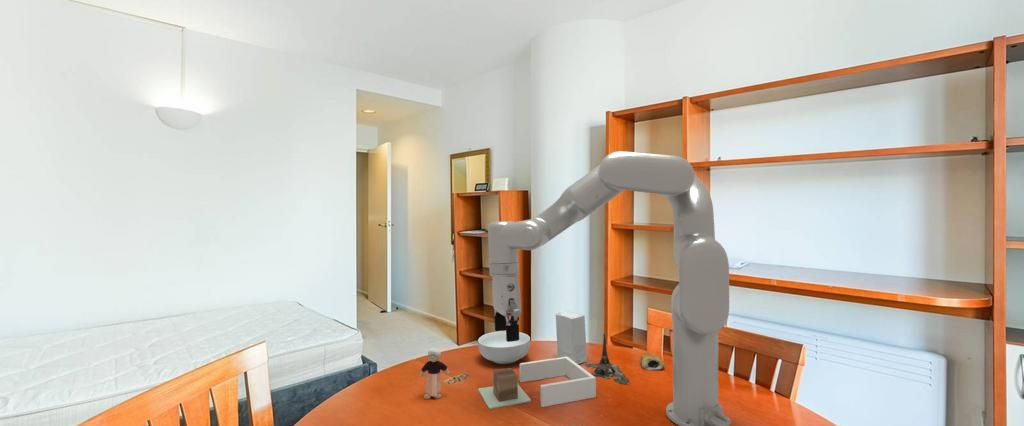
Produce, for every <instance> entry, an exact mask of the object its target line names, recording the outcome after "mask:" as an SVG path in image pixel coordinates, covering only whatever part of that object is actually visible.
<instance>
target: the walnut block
mask: <svg viewBox="0 0 1024 426" xmlns="http://www.w3.org/2000/svg"><path fill="white" fill-rule="evenodd" d="M492 384H493V385H492V386H493V394H494V395H495V397H496V398H497V400H498V401H499V402H502V401H507V400H513V399H518V385H519V382H518V373H516V372H515V371H514V369H513V368H512V367H507V368H501V369H500V368H499V369H494V370H492Z"/></svg>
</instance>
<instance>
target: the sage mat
mask: <svg viewBox="0 0 1024 426" xmlns="http://www.w3.org/2000/svg"><path fill="white" fill-rule="evenodd" d="M477 391H478V392H479V394H480V396H481V398H482V400H484V403H485V404H486V407H488V409H489V410H493V409H499V408H504V407H509V406H515V405H521V404H525V403H526V404H527V403H531V402H532V399H531V398H530V397H529V395H528V394H527V393H526V392H525V391H524V390H523V389H522V387H521V386H520V385H519V384H518V399H513V400H507V401H502V402H499V401H498V400H497V398H496V397H495V395H494V394H493V385H492V386H487V387H480V388H478V389H477Z"/></svg>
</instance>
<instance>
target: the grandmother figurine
mask: <svg viewBox="0 0 1024 426" xmlns="http://www.w3.org/2000/svg"><path fill="white" fill-rule="evenodd" d="M441 355H442V354H441V351H440V350H439V349H438V348H437V347H431V348H430V349H428V351H427V356H428V361H427V362H426V363H424V365H423V367H422V368H421V369H420V373H419V374H418V375H419V377H420V378H423V376H424V374H425V372H426V378H425V379H426V380H425V381H426V382H425V394H424V395H423V399H424V400H428V399H429V400H430V399H431V398H432V397H433V399H441V398H442V394H441V393H442V391H441V390H442V377H441V376H442V375H441V371H442V372H444V373H445V375H446V376H449V375H450V371H449V369H448V366H447V365H446V364H445V363H444V362H442V361H439V358H440V357H441Z"/></svg>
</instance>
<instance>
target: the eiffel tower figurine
mask: <svg viewBox="0 0 1024 426" xmlns="http://www.w3.org/2000/svg"><path fill="white" fill-rule="evenodd" d="M605 331H606V330H605V329H604V331H603V332H604V333H603V334H602V335H603V343H602V353H601V358H600V360H599V363H585V367H586V368H592V369H594V371H593V372H592V373H591V375H593V376H594V377H595V378H598V377H599V378H603V379H606V380H610V379H611V378H613V380H612V381H614V382H615V383H616V384H619V385H631V382H630V380H629V379H628V377H627V376H626V375H625V374H624V372H623V371H622V369H621V368H620V367H619V365H617V364H614V363H611V362H610V359H609V355H608V352H607V339H606V335H607V334H606V332H605Z"/></svg>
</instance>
